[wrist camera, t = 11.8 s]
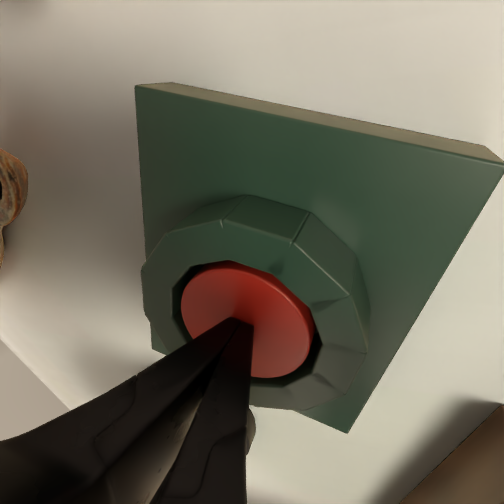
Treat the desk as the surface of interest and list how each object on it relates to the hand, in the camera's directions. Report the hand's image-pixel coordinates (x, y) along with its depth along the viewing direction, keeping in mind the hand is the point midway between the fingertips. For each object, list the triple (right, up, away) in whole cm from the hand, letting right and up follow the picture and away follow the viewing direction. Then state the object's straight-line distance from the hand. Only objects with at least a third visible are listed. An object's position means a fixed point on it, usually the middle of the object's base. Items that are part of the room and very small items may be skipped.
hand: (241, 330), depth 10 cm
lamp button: (+1, +1, +1) cm, 2 cm away
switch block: (+1, +2, +3) cm, 4 cm away
